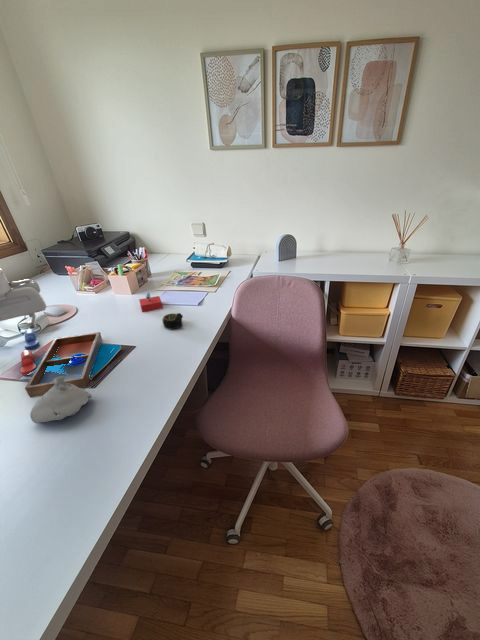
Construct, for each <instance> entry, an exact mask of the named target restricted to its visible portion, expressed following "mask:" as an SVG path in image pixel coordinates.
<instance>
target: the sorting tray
mask: <svg viewBox="0 0 480 640" xmlns="http://www.w3.org/2000/svg"><path fill="white" fill-rule="evenodd" d="M102 343H103V337H102V334H101V332H92V333H84V334H77V335H69V336H62V337H55V338H53V340H52V342H51V343H50V344H49V347H48V348H47V350H46V352H45V354H44V355H43V357H42V359H41V361H39V364H38V365H37V369H36V371H35V372H34V374H32V375H31V376H30V378H29V380H28V382H27V384H26V386H25V388H24V390H25V392H26V393H27V394H28V397H30V398H34V397H35V398H36V397H40V396H41V397H42V396H43V395H44V394H45V393H46V392H48V391H49V390H50V389H51V388H52V387H53V386H54V379H55V378H57V377H60V376H63V378H64V381H65V383H70V384H72V385H75V386H76V387H78V388H81V389H87V388H88V385H89V383H90V380H89V375H90V372H91V370H92V367H93V365H94V362H95V363H96V361H95V359H96V360H97V358H96V356H97V357H98V355H97V352H98V349H99V346H100V344H101V345H102ZM58 347H59V348H58ZM100 347H101V346H100ZM57 349H58V350H57ZM99 350H100V349H99ZM56 351H57V352H56ZM78 353H83V354H86V355H81V356H74V357H79V358H84V359H85V360H86V361H85V362H84V363H82V364H79V365H76V366H70V365H67V364H68V363H69V361H70V359H71V358H73V357H71V356H73V355H75V354H78ZM98 353H99V352H98ZM54 354H55V355H54ZM57 355H58V356H57ZM53 356H55V357H53ZM56 356H57V357H60V356H61V357H60V358H61V359H54V360H51V359H52V358H57V357H56ZM61 364H66V365H65V366H64V365H63V366H62V367H61V368H60V369H62V368H63V367H64V368H63V370H64V372H63V373H65V371H66V373H67V374H68V375H67V374H62V373H61V374H59V373H57V372H56V373H55V372H51V371H49V372H45V370H46V368H47V366H54V365H61ZM94 366H95V365H94ZM63 370H62V371H63ZM59 371H60V370H59ZM44 373H45V374H44ZM77 374H78V375H79V374H80V375H81V374H82V375H81V376H80V375H79V376H78V375H77ZM75 375H76V376H75Z"/></svg>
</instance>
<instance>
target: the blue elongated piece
mask: <svg viewBox="0 0 480 640" xmlns="http://www.w3.org/2000/svg"><path fill="white" fill-rule="evenodd" d="M24 340H25V343H24V344H23V347H24V350H29V351H33V350H36V349H38V348H39V347H40V346H41V344H40V342H39V340H37V337H36V332H35V330H34V329H33V328H32V329H30V328H26V330H25V331H24Z"/></svg>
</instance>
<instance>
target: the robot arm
mask: <svg viewBox="0 0 480 640" xmlns="http://www.w3.org/2000/svg"><path fill="white" fill-rule="evenodd" d="M47 306H48V305H47V303H46V300H45V299H44V297H43V296H42V294H41V288H40V285H39V283H38V282H36V280H33V279H29V278H24V279H23V280H17V281H16V280H15V281H11V282H9V280H8V279H7V277H6V275H5V272H4V271H3V269H2V268H1V267H0V322H3V321H7V320H12V319H15V318H20V317H23V316H27V315H28V317H29V318H30V320H29V321H27V325H28V326H29V329H32V330H33V329H36V328H37V324H36V322H35V321H36V317H37V316H36V315H37V314H36V313H41V312H44V311H46V309H47Z"/></svg>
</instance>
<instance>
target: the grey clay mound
mask: <svg viewBox="0 0 480 640" xmlns="http://www.w3.org/2000/svg"><path fill="white" fill-rule="evenodd" d="M89 399H93V395H92V394H91V392H89V391H88V390H86V389H85V388H82V389H81V388H78V387H76V386H75V385H72V384H70V383H65V381H64V378H63V376H60V377H57V378H55V379H54V386H53V387H52V388H51V389H50V390H49V391H48V392H46V393H45V394H44V395H41V397H40V398H39V399H38V400H37V401H36V402H35V403H34V404H33V406H32V408H31V410H30V414H29V415H30V420H31V422H33V423H34V424H40V423H48V422H52V421H61V420H63V419H64V418H66V417H68V416H69V417H70V416H71V417H73V416H74V415H76V414H77V413H78V412H79V411H80V410H81V409H82V408H81V407H82V406H84V405H86V404H87V403H88V401H89Z"/></svg>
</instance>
